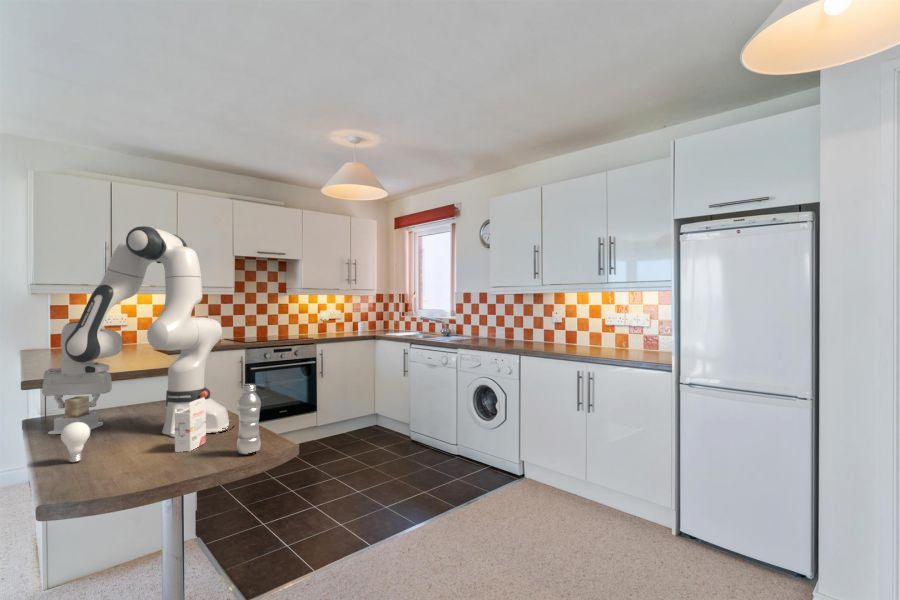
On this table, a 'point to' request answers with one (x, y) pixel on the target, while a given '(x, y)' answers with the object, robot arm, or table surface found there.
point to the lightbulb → (75, 439)
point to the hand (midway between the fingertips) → (77, 407)
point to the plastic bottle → (248, 420)
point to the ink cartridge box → (190, 426)
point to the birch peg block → (76, 407)
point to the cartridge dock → (88, 419)
